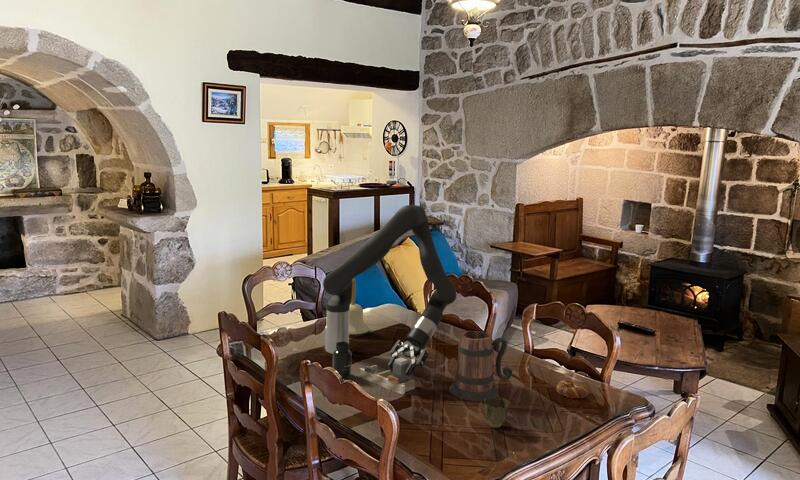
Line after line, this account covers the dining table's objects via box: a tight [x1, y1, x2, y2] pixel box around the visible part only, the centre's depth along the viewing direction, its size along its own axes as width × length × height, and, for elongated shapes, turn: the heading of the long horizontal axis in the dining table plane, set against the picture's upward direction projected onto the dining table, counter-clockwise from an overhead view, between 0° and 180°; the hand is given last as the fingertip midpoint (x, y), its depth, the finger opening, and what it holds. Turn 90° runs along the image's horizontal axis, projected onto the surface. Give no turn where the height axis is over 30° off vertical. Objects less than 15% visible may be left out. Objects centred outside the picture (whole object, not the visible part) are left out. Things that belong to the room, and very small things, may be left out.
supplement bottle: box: [332, 342, 353, 379], centre depth 213 cm, size 7×7×12 cm
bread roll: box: [555, 379, 590, 399], centre depth 204 cm, size 12×11×4 cm
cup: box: [483, 396, 510, 429], centre depth 176 cm, size 8×7×8 cm
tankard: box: [448, 330, 513, 402], centre depth 203 cm, size 24×17×20 cm
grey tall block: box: [392, 357, 410, 384], centre depth 204 cm, size 4×4×10 cm
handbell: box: [349, 278, 370, 335], centre depth 264 cm, size 15×15×25 cm
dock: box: [358, 364, 416, 395], centre depth 208 cm, size 22×7×5 cm, turn 45°
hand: (398, 371), depth 202 cm, fingers open, 8 cm apart
